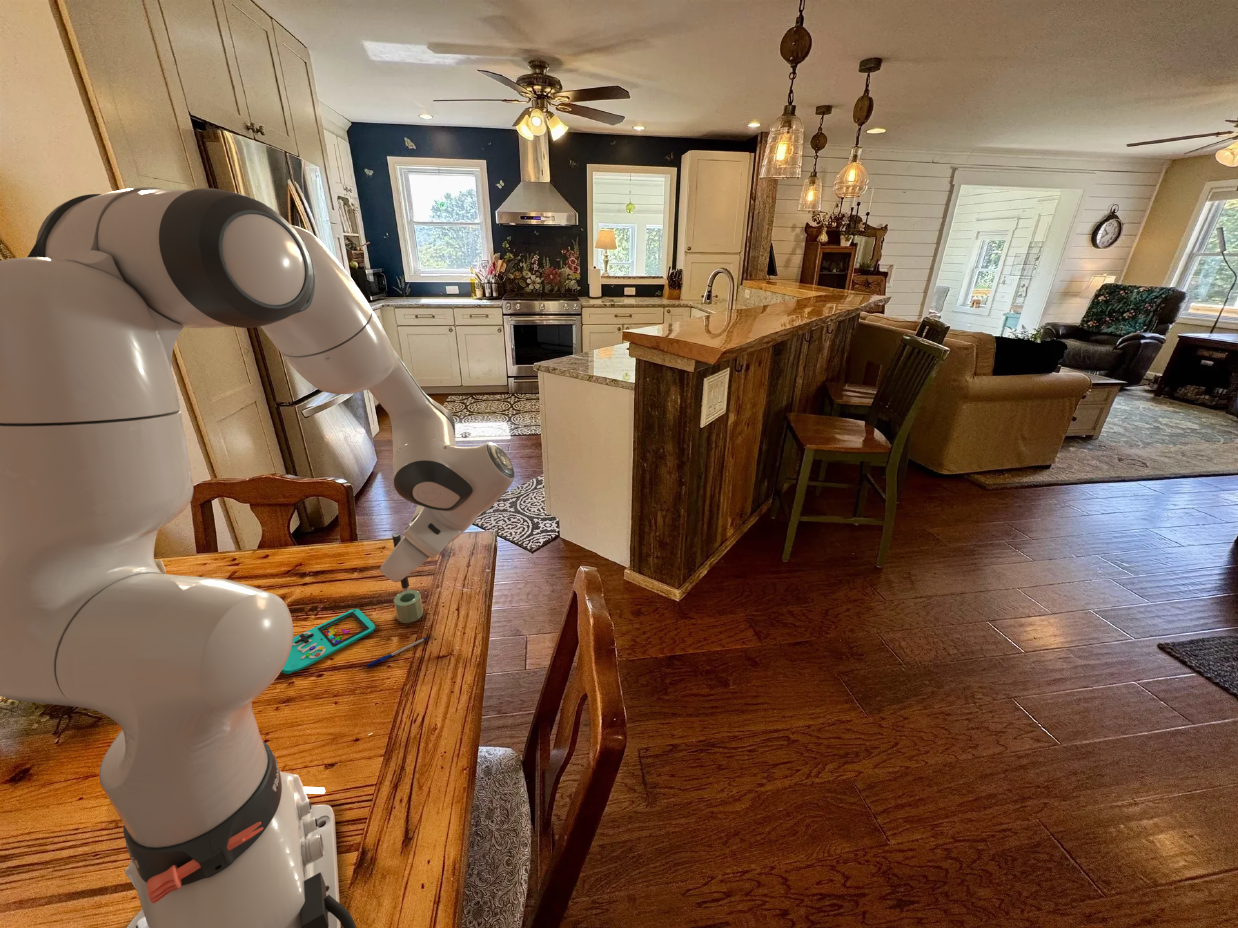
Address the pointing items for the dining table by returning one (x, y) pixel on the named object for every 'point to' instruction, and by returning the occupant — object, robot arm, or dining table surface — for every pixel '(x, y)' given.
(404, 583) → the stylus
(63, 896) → the dining table surface
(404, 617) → the green hollow cylinder
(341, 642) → the handheld gaming console
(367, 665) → the ballpoint pen
